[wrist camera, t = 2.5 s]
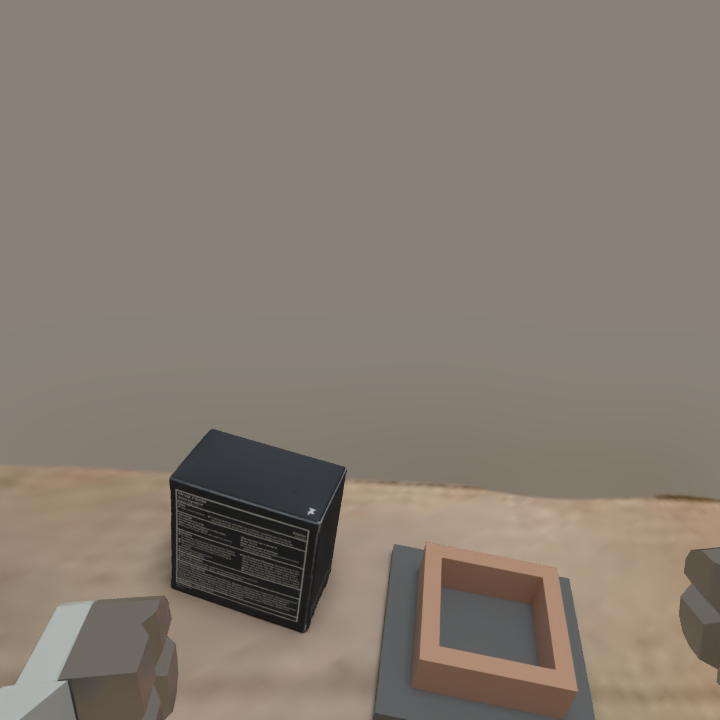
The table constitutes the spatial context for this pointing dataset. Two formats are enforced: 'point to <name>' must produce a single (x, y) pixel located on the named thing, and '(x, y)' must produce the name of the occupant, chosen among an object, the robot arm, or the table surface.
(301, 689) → the table surface
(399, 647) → the dock
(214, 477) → the small box
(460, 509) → the table surface
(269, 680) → the table surface
